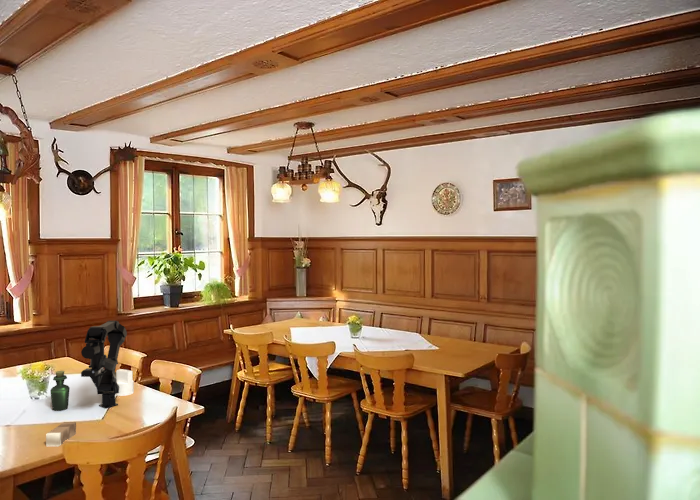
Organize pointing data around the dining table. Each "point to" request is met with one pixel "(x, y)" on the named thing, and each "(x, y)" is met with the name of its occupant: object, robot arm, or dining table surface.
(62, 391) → the potion bottle
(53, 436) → the cream and brown block
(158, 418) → the dining table surface
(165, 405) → the dining table surface
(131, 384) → the white cutaway cylinder
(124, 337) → the robot arm
